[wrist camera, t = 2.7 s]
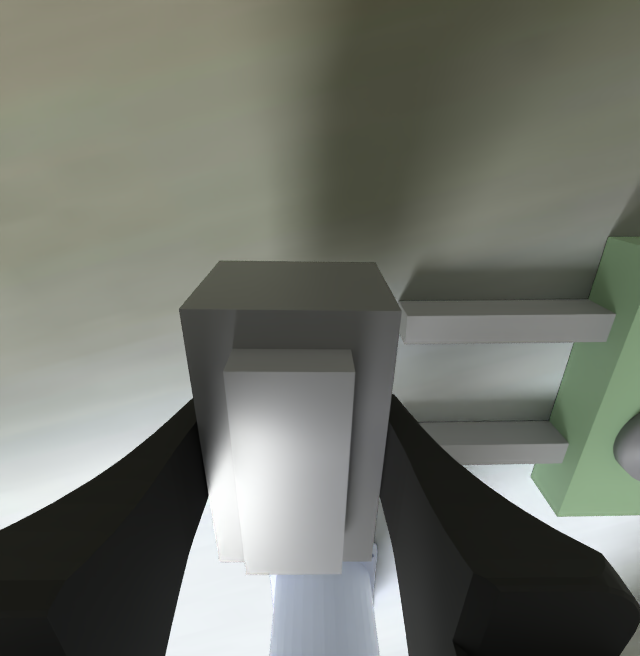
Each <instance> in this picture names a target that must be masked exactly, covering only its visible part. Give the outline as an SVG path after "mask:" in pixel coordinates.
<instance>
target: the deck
mask: <svg viewBox="0 0 640 656" xmlns="http://www.w3.org/2000/svg"><path fill="white" fill-rule="evenodd" d="M398 305H399V307H400V309H401V310H402V314H401V322H400V330H399V334H400V336H401V338H402V340H403V342H404V344H476V343H564V342H574V345H573V348H572V351H571V354H570V357H569V360H568V363H567V367H566V370H565V373H564V376H563V379H562V382H561V385H560V388H559V391H558V394H557V397H556V401H555V404H554V407H553V410H552V413H551V416H550V419H549V421H492V422H421V423H419V424H420V425H421V426H422V427H423V428H424V430H425V431H426V432H427V433H428V434H429V435H430V436H431V437H432V438H433V439H434V440H435V441H436V442H437V443H438V444H439V445H440V446H441V447H442V448H443V449H444V450H445V451H446V452H447V453H448V454H449V455H450V456H451V457H453V458H454V459H455V460H456V461H457V462H458V463H459V464H461V465H489V464H535V465H534V469H533V472H532V475H531V478H532V480H533V481H534V483H535V484H536V486H537V487H538V489H539V490H540V492H541V493H542V495H543V496H544V498H545V499H546V501H547V502H548V504H549V505H550V507H551V508H552V510H553V511H554V513H555V514H556V515H557V517H566V516H623V515H640V237H608V240H607V243H606V246H605V249H604V252H603V255H602V258H601V261H600V264H599V268H598V271H597V274H596V277H595V280H594V283H593V286H592V289H591V292H590V295H589V298H588V299H559V300H457V301H399V304H398Z"/></svg>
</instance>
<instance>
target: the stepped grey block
mask: <svg viewBox="0 0 640 656" xmlns="http://www.w3.org/2000/svg"><path fill="white" fill-rule="evenodd" d="M179 312H180V318H181V325H182V331H183V337H184V344H185V350H186V356H187V362H188V369H189V375H190V381H191V387H192V394H193V400H194V406H195V413H196V419H197V425H198V431H199V438H200V444H201V450H202V456H203V463H204V469H205V475H206V482H207V488H208V494H209V500H210V507H211V513H212V519H213V525H214V532H215V538H216V544H217V551H218V557H219V562H245V571H246V575H307V574H342V562H366V561H371V560H372V551H373V543H374V535H375V527H376V519H377V510H378V502H379V494H380V486H381V478H382V470H383V461H384V453H385V445H386V437H387V429H388V420H389V412H390V404H391V396H392V388H393V380H394V371H395V363H396V355H397V347H398V339H399V330H400V322H401V314H402V310H401V309H400V307H399V305H398V303H397V301H396V300H395V298H394V296H393V294H392V292H391V290H390V289H389V287H388V285H387V283H386V281H385V280H384V278H383V276H382V274H381V272H380V270H379V269H378V267H377V265H376V263H367V262H285V261H219V262H218V263H217V264H216V266H215V267H214V268H213V269H212V270H211V272H210V273H209V274H208V275H207V276H206V278H205V279H204V280H203V281H202V282H201V283H200V285H199V286H198V287H197V288H196V289H195V291H194V292H193V293H192V294H191V295H190V297H189V298H188V299H187V300H186V301H185V302H184V304H183V305H182V306H181V307H180V308H179Z"/></svg>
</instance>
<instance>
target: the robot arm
mask: <svg viewBox="0 0 640 656" xmlns="http://www.w3.org/2000/svg"><path fill="white" fill-rule="evenodd" d="M379 495H380V499H381V503H382V507H383V511H384V515H385V519H386V522H387V526H388V530H389V534H390V538H391V543H392V547H393V552H394V558H395V564H396V571H397V577H398V583H399V590H400V597H401V603H402V610H403V617H404V624H405V631H406V639H407V646H408V654H409V656H619V655H620V654H621V652H622V651H623V649H624V648H625V646H626V645H627V643H628V642H629V641H630V639H631V638H632V636H633V635H634V633H635V632H636V629H637V627H638V625H639V623H640V606H639V604H638V602H637V601H636V599H635V598H634V596H633V595H632V593H631V592H630V591H629V589H628V588H627V586H626V585H625V584H624V582H623V581H622V579H621V578H620V576H619V575H618V574H617V572H616V571H615V570H614V568H613V567H612V566H611V565H610V563H609V562H608V561H607V560H606V558H605V557H604V556H603V555H602V553H600V552H598V551H596V550H594V549H592V548H590V547H588V546H586V545H584V544H582V543H581V542H579V541H577V540H575V539H573V538H571V537H569V536H567V535H565V534H563V533H561V532H560V531H558V530H556V529H554V528H552V527H551V526H549V525H547V524H545V523H544V522H542V521H540V520H539V519H537V518H535V517H534V516H532V515H530V514H529V513H527V512H525V511H524V510H522V509H521V508H519V507H518V506H516V505H515V504H513V503H511V502H510V501H508V500H507V499H506V498H504V497H503V496H501V495H500V494H498V493H497V492H496V491H494V490H493V489H491V488H490V487H488V486H487V485H486V484H484V483H483V482H482V481H480V480H479V479H478V478H477V477H475V476H474V475H473V474H472V473H470V472H469V471H468V470H467V469H466V468H464V467H463V466H462V465H461V464H459V463H458V462H457V461H456V460H455V459H454V458H453V457H451V456H450V455H449V454H448V453H447V452H446V451H445V450H444V449H443V448H442V447H441V446H440V445H439V444H438V443H437V442H436V441H435V440H434V439H433V438H432V437H431V436H430V435H429V434H428V433H427V432H426V431H425V430H424V428H423V427H422V426H421V425H420V424H419V423H418V422H417V421H416V420H415V418H414V417H413V416H412V415H411V414H410V413H409V412H408V410H407V409H406V408H405V407H404V406H403V404H402V403H401V402H400V401H399V400H398V399H397V397H396V396H395V395H394V394H392V396H391V404H390V412H389V420H388V429H387V437H386V445H385V453H384V461H383V470H382V478H381V486H380V494H379ZM208 496H209V494H208V488H207V482H206V475H205V469H204V463H203V456H202V450H201V444H200V438H199V431H198V425H197V419H196V413H195V406H194V400H193V398H192V399H191V400H190V401H189V402H188V403H187V404H186V405H185V406H184V407H182V408H181V409H180V410H179V411H178V412H177V413H176V414H175V415H174V416H173V417H172V418H171V419H169V420H168V421H167V422H166V423H165V424H164V425H163V426H162V427H160V428H159V429H158V430H157V431H156V432H155V433H154V434H152V435H151V436H150V437H149V438H148V439H146V440H145V441H144V442H143V443H141V444H140V445H139V446H138V447H136V448H135V449H134V450H133V451H132V452H130V453H129V454H128V455H126V456H125V457H124V458H122V459H121V460H120V461H118V462H117V463H116V464H114V465H113V466H111V467H110V468H108V469H107V470H105V471H104V472H102V473H101V474H100V475H98V476H97V477H95V478H93V479H92V480H90V481H89V482H87V483H85V484H84V485H82V486H80V487H79V488H77V489H75V490H74V491H72V492H70V493H69V494H67V495H65V496H64V497H62V498H61V499H59V500H57V501H55V502H54V503H52V504H50V505H48V506H46V507H44V508H43V509H41V510H39V511H37V512H35V513H33V514H31V515H29V516H27V517H26V518H24V519H22V520H20V521H18V522H16V523H14V524H12V525H10V526H8V527H6V528H4V529H1V530H0V656H165V654H166V649H167V645H168V640H169V635H170V631H171V626H172V622H173V618H174V613H175V609H176V605H177V600H178V596H179V592H180V588H181V583H182V579H183V575H184V571H185V567H186V563H187V559H188V555H189V552H190V549H191V545H192V542H193V539H194V536H195V533H196V530H197V528H198V525H199V522H200V519H201V516H202V513H203V511H204V508H205V505H206V502H207V499H208ZM377 552H378V550H377V545H376V544H375V543H373V551H372V560H371V561H366V562H342V574H307V575H270V581H271V591H272V601H273V620H272V631H271V643H270V654H269V656H380V653H379V646H378V638H377V631H376V623H375V615H374V608H373V594H374V583H375V573H376V562H377Z"/></svg>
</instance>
